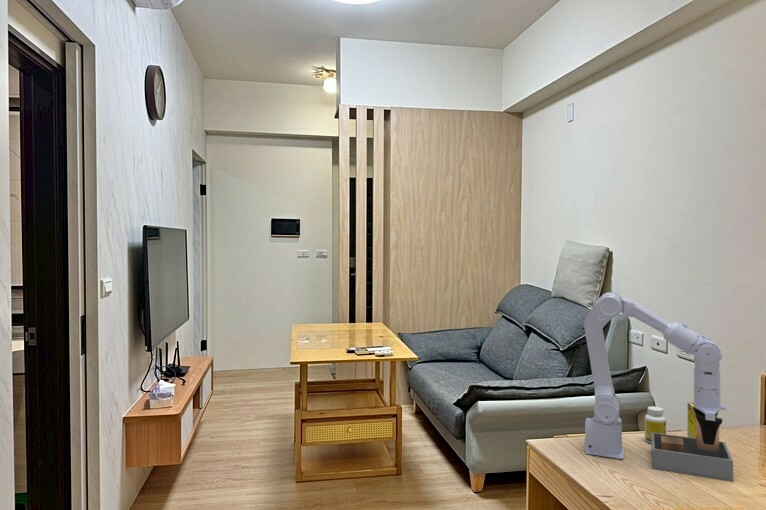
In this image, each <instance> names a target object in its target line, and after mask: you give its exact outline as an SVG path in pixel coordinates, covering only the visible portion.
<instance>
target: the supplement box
mask: <svg viewBox="0 0 766 510" xmlns="http://www.w3.org/2000/svg"><path fill="white" fill-rule="evenodd" d="M693 407H694V406H693V402H687V437H691V438H696V416H695V414H696V413H695V411H694V410H693ZM716 418H718V415H717V416H716Z"/></svg>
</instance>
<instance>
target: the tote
mask: <svg viewBox="0 0 766 510" xmlns="http://www.w3.org/2000/svg"><path fill="white" fill-rule="evenodd" d="M661 436H667V437H675V438H682V439H683V444H684V453H681V452H674V451H667V450H661ZM651 439H652V444H651V463H652V465H651V466H652V467H651V468H652V469H653V470H659V471H664V470H665V472H670V471H672V472H673V473H677V472H678V473H677V474H684V475H691V476H695V477H704V478H708V477H710V478H709V479H715V480H722V481H728V482H734V460H733V458H732V455H731V453H730V450H729V449H728V445H727V444H726V442H725V441H720V440H719V451H716V452H711V451H705V450H701V449H699V448H697V447H696V438H691V437H688V436H684V435H683V436H681V435H675V434H674V435H673V434H667V433H666V434H660V433H652V432H651ZM672 472H671V473H672Z"/></svg>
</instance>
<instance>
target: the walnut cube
mask: <svg viewBox="0 0 766 510" xmlns="http://www.w3.org/2000/svg"><path fill="white" fill-rule="evenodd" d="M661 450H667V451H674V452H681V453H684V444H683V439H682V438H675V437H667V436H661Z"/></svg>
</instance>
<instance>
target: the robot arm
mask: <svg viewBox="0 0 766 510" xmlns="http://www.w3.org/2000/svg"><path fill="white" fill-rule="evenodd" d="M621 313H622V315H621V318H635V319H636V320H638V321H640V322H642V323H644V324H646V325H647V326H649V327H651V328H653V329H655V330H656V331H658V332H660V333H661V334H662V335H663V339H664V341H666V342H667V343H669V344H670V345H672V346H674V347H675V348H677V349H679V350H680V351H683V352H684V353H686V354H687V355H693V356H694V368H693V402H692V403H693V406H694V407H693V410H694V411H695V413H696V414H695V416H696V419H697V421H698V422H699V425H700V428H701V433H702V438H703V442H704V444H709V445H714V442H715V438H716V434H717V430H718V428H719V429H720V426H721V425H722V423H723V419H722V418H719V417H718V414H719V412H721V411H726V410H727V406H726V405H725V404H721V370H720V366H721V364H720V362H721V361H722V358H723V354H722V353H721V349H720V347H719V346H718V345H717V343H715V342H714V341H713V340H712V339H711V338H707V336H706V335H704V334H699V333H697V332H696V331H694V330H693V329H690V328H688V327H689V326H688V324H686V323H684V322H681V323H680V322H679V321H674V322H668V321H666V320H665V319H663V318H662V317H660V316H659V315H657V314H655V313H654V312H652V311H650V310H648V308H646V307H644V306H642V305H641V304H639V303H637V302H636V301H634V300H632V299H630V298H627V297H625V296H621V295H619V293H617V292H614V291H607V292H605V293H603V294H602V295H601V296H600V297H599V298H598V299H597V300H595V302H593V304H592V307H591V308H590V310H589V312H588V313H587V315H586V317H585V319H584V322H583V328H584V334H585V339H586V345H587V350H588V357H589V362H590V369H591V374H592V380H593V385H594V398H595V404H594V407H593V414H594V415H593V417H585V422H584V430H585V431H584V445H585V447H584V449H585V451H584V454H586V455H593V456H598V457H605V458H611V459H618V460H623V459H624V454H625V453H624V452H625V448H624V447H623V429H622V428H623V422H622V418H621V417H620V408H621V401H620V399H619V397H618V396H617V394H616V393H615V387H614V385H613V380H612V375H611V369H610V363H609V356H608V351H607V345H606V340H605V335H604V329H603V328H604V327H605V326H606V325H607V324H608V323H609V322H610V321H611V320H614V318H616V317H618V316H619V315H620V314H621ZM716 416H717V418H716Z"/></svg>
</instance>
